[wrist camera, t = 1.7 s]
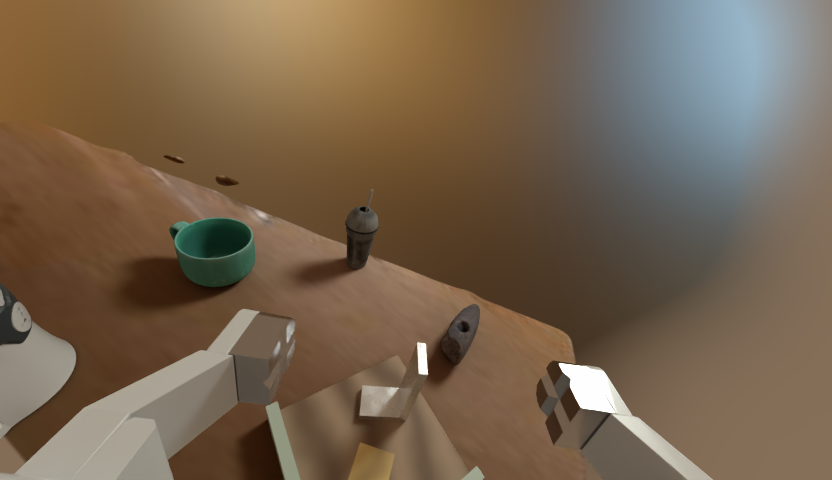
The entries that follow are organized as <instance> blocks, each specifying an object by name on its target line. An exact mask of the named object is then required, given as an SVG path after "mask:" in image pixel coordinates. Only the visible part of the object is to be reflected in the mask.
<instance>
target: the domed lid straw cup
mask: <svg viewBox="0 0 832 480" xmlns="http://www.w3.org/2000/svg"><path fill="white" fill-rule="evenodd" d="M372 194H373V190H371V192H370V196H369V199H368V203H367V206H359V207H356V208H354V209H353V210H352V211H351V212H350V213H349V215H348V216H347V219H346V224H345V225H346V231H347V264H348V265H349V266H350V267H351V268H354V269H361V268H363V267H364V266H365V265H366V261H367V259H368V256H369V252H370V249H371V245H372V242H373V238H374V236H375V234H376V231H377V229H378V218H377V215H376V214H375V212H374V211H373V210H372V209H370V208H369V204H370V201H371V197H372Z"/></svg>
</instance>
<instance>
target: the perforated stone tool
mask: <svg viewBox="0 0 832 480" xmlns="http://www.w3.org/2000/svg"><path fill="white" fill-rule="evenodd" d="M479 318H480V309H479V307H478V305H476V304H473V305H470V306H468V307H467V308H464V309H463V310H462V311H461V312H460V313H459V314H458V315H457V316H456V317H455V319H454V320H453V321H452V323H451V324H450V327H449V329H448V334H447V335H446V336H445V337H444V338H443V339H442V340H441V344H442V352H443V353H444V354H445V355H446V356H447V357H448V358H449V360H450V361H451V362H453V363H454V364H456V365H457V364H459V363H460V361H461V360H462V359H463V357H464V356H465V354H466V352H467V351H468V349H469V347H470V345H471V343H472V341H473V339H474V336H475V334H476V331H477V328H478V324H479Z"/></svg>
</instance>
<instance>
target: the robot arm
mask: <svg viewBox="0 0 832 480" xmlns="http://www.w3.org/2000/svg"><path fill="white" fill-rule="evenodd" d="M294 329H295V319H294V318H292V317H286V316H281V315H276V314H271V313H265V312H258V311H253V310H248V309H242V310H240V311H239V312H238V313H237V314H236V315H235V316H234V317H233V319H232V320H231V321H230V322H229V323H228V325H227V326H226V327H225V328H224V330H223V331H222V332H221V333H220V334H219V336H218V337H217V338H216V339H215V341H214V342H213V343H212V344H211V345H210V347H209V348H208V349H207V350H206V351H202V350H200V351H198V352H196V353H194V354H192V355H190V356H188V357H186V358H184V359H182V360H180V361H178V362H176V363H174V364H171V365H169V366H167V367H165V368H163V369H161V370H159V371H157V372H155V373H153V374H151V375H149V376H147V377H145V378H143V379H141V380H139V381H137V382H135V383H133V384H131V385H129V386H127V387H125V388H123V389H121V390H119V391H117V392H115V393H113V394H111V395H109V396H107V397H105V398H103V399H101V400H99V401H97V402H95V403H93V404H91V405H89V406H87V407H85V408H83V409H82V410H81V411H80V412H79V413H78V414H77V415H76V416H75V417H74V418H73V419H72V420H71V421H70V422H69V423H67V424H66V425H65V426H64V427H63V428H62V429H61V430H60V431H59V432H58V433H57V434H56V435H55V436H54V437H53V438H52V439H51V440H50V441H48V442H47V443H46V444H45V445H44V446H43V447H42V448H41V449H40V450H39V451H38V452H37V453H36V454H35V455H34V456H33V457H32V458H31V459H29V460H28V461H27V462H26V463H25V464H24V465H23V466H22V467H21V468H20V469H19V470H18V471H17V472H16V473H15V474H8V473H0V480H174V478H173V475H172V472H171V469H170V466H169V463H168V459H169V458H170V457H172V456H173V455H174V454H175V453H177V452H178V451H179V450H180V449H182V448H183V447H184V446H185V445H187V444H188V443H189V442H190V441H192V440H193V439H194V438H195V437H197V436H198V435H199V434H200V433H202V432H203V431H204V430H205V429H207V428H208V427H209V426H210V425H212V424H213V423H214V422H215V421H217V420H218V419H219V418H220V417H222V416H223V415H224V414H225V413H227V412H228V411H229V410H230V409H232V408H233V407H234V406H235V405H237V404H238V401H239V402H248V403H256V404H265V405H270V404H271V402H272V400H273V398H274V395H275V393H276V391H277V389H278V387H279V385H280V374H282V373H283V372H285V371H286V370H287V368H288V366H289V364H290V362H291V359H292V355H293V352H294V347H295V338H294V336H293V335H292V333H293V331H294ZM75 363H76V353H75V350H74V348H73V347H72V346H71V345H70V344H69V343H68V342H66V341H64V340H62V339H59V338H57V337H55V336H53V335H51V334H49V333H48V332H46V331H45V330H43V329H42V328H41V327H39V326H38V325H37V324H35V323H34V322H33V321H32V319H31V317H30V315H29V313H28V312H27V310H26V309H25V307H24V306H23V305H22V304H21V303H20V302H19V301H18V300H17V299H16V298H15V296H14V295H13V294H12V293H11V292H10V291H9V290H8V289H7V288H6V287H5V286H4V285H2V284H1V283H0V439H1V438H2V437H3V436H4V435H5V434H6V433H7V432H8V431H9V430H10V429H11V427H13V426H14V425H15V424H16V423H18V422H19V421H21V420H22V419H23V418H25V417H26V416H28V415H29V414H31V413H32V412H34V411H35V410H36V409H38V408H39V407H41V406H42V405H43V404H44V403H46V402H47V401H48V400H49V399H50V398H51V397H53V396H54V395H55V394H56V393H57V392H58V391H59V390H60V388H61V387H62V386H63V385H64V384H65V383H66V381H67V380H68V378H69V377H70V375H71V373H72V371H73V369H74V366H75ZM546 369H547V372H548V374H547V375H545V376H543V377H541V378H540V380H539V382H538V384H537V392H536V395H537V401H538V404H539V407H540V409H541V410H542V411H543V412H544V413H545V414H546V415H547V419H546V422H545V423H546V426H547V429H548V431H549V434H550V437H551V440H552V442H553V445H554V446H560V447H565V448H571V449H577V450H581V453H582V454H583V455H584V457H585V458H586V459H587V460H588V462H589V463H590V464H591V465H592V467H594V469H595V470H596V471H597V473H598V474H599V475H600V476H601V478H602V479H603V480H713V479H711V478H710V477H709V476H708V475H707V474H705V473H704V472H703V471H702V470H700V469H699V468H698V467H697V466H696V465H694V464H693V463H692V462H691V461H690V460H688V459H687V458H686V457H685V456H683V454H681V453H680V452H679V451H678V450H677V449H675V448H674V447H673V446H672V445H670V444H669V443H668V442H667V441H666V440H664V439H663V438H662V437H661V436H660V435H658V434H657V433H656V432H655V431H654V430H652V429H651V428H650V427H649V426H647V425H646V424H645V423H644V422H643V421H642V420H640V419H639V418H638V417H633V416H632V414H631V413H630V411H629V410H628V408H627V407H626V405H625V403H624V402H623V400H622V399H621V397H620V396H619V394H618V393H617V391H616V389H615V388H614V386H613V385H612V383H611V382H610V380H609V378H608V377H607V375H606V374H605V372H604V371H603V370H601V369H600V368H599V367H593V366H586V365H579V364H573V363H567V362H560V361H552V362H550V363H549V365H548V366H547V368H546Z"/></svg>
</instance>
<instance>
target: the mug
mask: <svg viewBox="0 0 832 480" xmlns="http://www.w3.org/2000/svg"><path fill="white" fill-rule="evenodd" d="M170 234H171V236H172V238H173V240H174V245H175V249H176V253H177V257H178V260H179V263H180V266H181V269H182V271H183V273H184V274H185V275H186V277H187V278H188V279H190V280H191V281H192V282H194V283H196V284H199V285H202V286H207V287H221V286H227V285H230V284H233V283H235V282H238V281H239V280H241V279H243V278H244V277H245V276H246V275H248V274H249V272H250V271H251V270H252V268H253V266H254V263H255V245H254V238H253V233H252V231H251V229H250V228H249V227H248V226H247V225H246V224H245V223H243V222H241V221H238V220H235V219H231V218H207V219H202V220H199V221H195V222H193V223H191V224H188V223H187V222H183V221H181V222H177V223H175V224H173V225H172V226H171V227H170Z"/></svg>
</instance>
